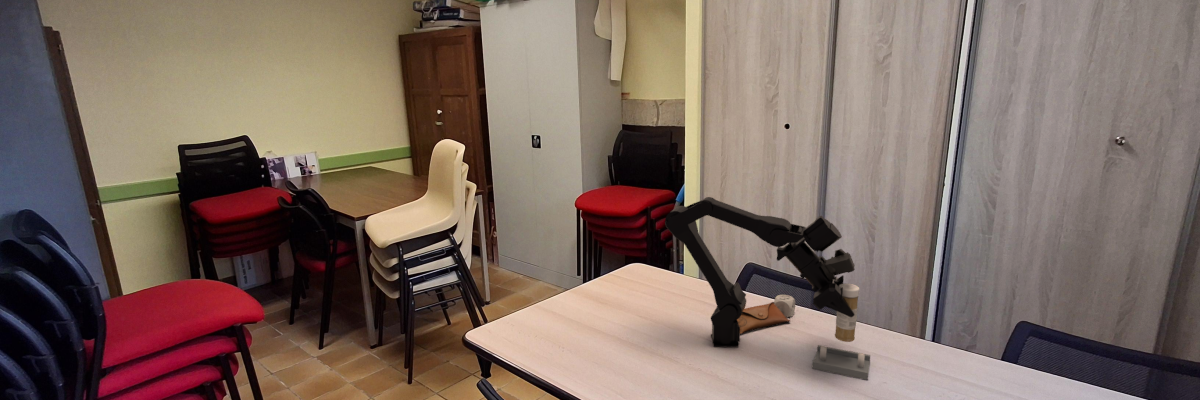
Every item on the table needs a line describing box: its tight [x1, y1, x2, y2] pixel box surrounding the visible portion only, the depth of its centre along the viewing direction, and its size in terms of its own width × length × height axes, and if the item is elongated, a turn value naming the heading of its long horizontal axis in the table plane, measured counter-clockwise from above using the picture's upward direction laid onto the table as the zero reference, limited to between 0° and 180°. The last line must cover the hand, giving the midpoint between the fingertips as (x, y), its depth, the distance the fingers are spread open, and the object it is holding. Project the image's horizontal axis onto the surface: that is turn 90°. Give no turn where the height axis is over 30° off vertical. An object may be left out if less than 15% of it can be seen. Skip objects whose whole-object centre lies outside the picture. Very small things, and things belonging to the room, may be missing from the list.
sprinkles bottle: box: [834, 283, 860, 343], centre depth 135 cm, size 5×5×13 cm
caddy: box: [811, 344, 871, 381], centre depth 135 cm, size 12×9×4 cm
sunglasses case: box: [737, 301, 791, 335], centre depth 159 cm, size 18×7×7 cm, turn 113°
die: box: [773, 294, 796, 318], centre depth 164 cm, size 5×5×5 cm
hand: (853, 312), depth 134 cm, fingers closed on sprinkles bottle, 4 cm apart
